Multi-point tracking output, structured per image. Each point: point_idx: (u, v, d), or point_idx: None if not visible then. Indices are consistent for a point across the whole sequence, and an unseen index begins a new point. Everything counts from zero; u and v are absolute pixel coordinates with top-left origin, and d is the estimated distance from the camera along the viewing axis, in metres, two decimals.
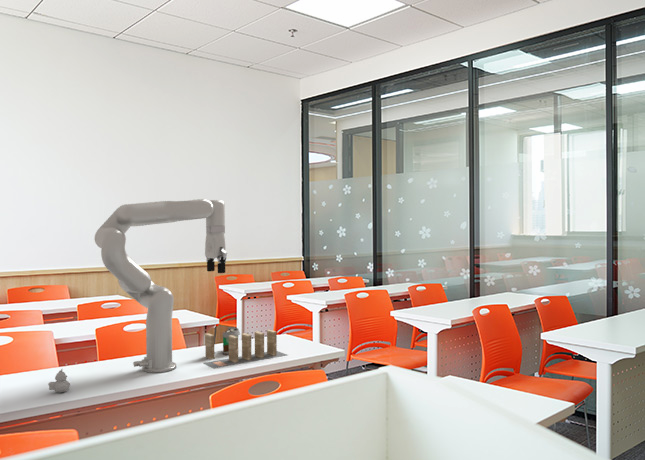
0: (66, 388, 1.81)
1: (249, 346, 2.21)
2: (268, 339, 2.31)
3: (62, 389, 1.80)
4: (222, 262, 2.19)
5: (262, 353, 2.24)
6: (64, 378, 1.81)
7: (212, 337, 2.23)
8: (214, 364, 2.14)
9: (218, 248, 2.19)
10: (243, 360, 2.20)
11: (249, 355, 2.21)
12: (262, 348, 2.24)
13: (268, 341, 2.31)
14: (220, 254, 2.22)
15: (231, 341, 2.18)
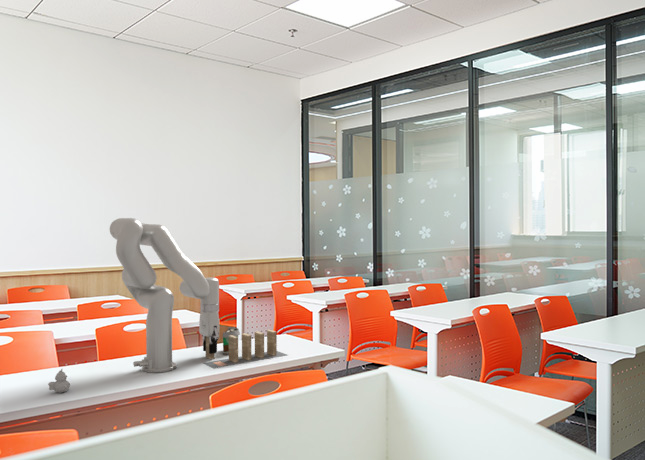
0: (66, 388, 1.81)
1: (249, 346, 2.21)
2: (268, 339, 2.31)
3: (62, 389, 1.80)
4: (214, 343, 2.21)
5: (262, 353, 2.24)
6: (64, 378, 1.81)
7: None
8: (214, 364, 2.14)
9: (212, 327, 2.20)
10: (243, 360, 2.20)
11: (249, 355, 2.21)
12: (262, 348, 2.24)
13: (268, 341, 2.31)
14: None
15: (231, 341, 2.18)
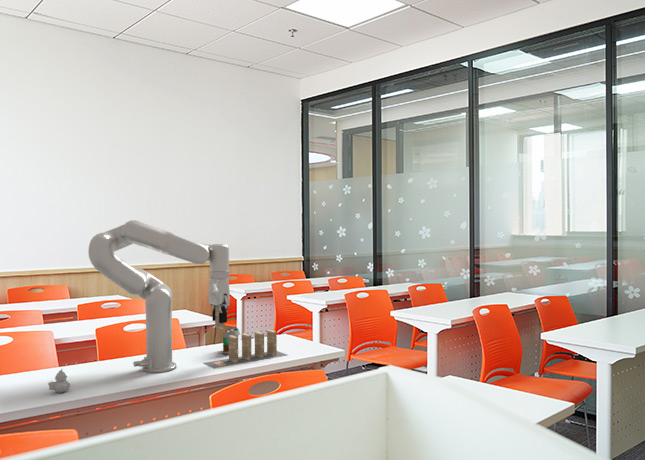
0: (66, 388, 1.81)
1: (249, 346, 2.21)
2: (268, 339, 2.31)
3: (62, 389, 1.80)
4: (224, 312, 2.12)
5: (262, 353, 2.24)
6: (64, 378, 1.81)
7: (222, 306, 2.13)
8: (214, 364, 2.14)
9: (222, 295, 2.10)
10: (243, 360, 2.20)
11: (249, 355, 2.21)
12: (262, 348, 2.24)
13: (268, 341, 2.31)
14: None
15: (231, 341, 2.18)
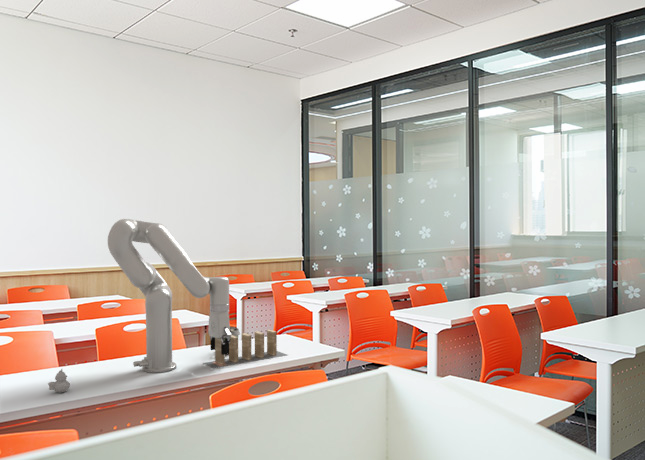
0: (66, 388, 1.81)
1: (249, 346, 2.21)
2: (268, 339, 2.31)
3: (62, 389, 1.80)
4: (226, 343, 2.11)
5: (262, 353, 2.24)
6: (64, 378, 1.81)
7: None
8: (214, 364, 2.14)
9: (222, 328, 2.11)
10: (243, 360, 2.20)
11: (249, 355, 2.21)
12: (262, 348, 2.24)
13: (268, 341, 2.31)
14: (224, 334, 2.13)
15: (231, 341, 2.18)
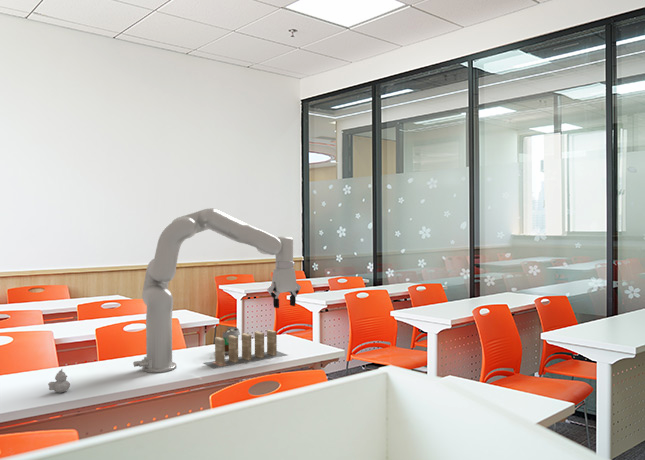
0: (66, 388, 1.81)
1: (249, 346, 2.21)
2: (268, 339, 2.31)
3: (62, 389, 1.80)
4: (273, 297, 2.30)
5: (262, 353, 2.24)
6: (64, 378, 1.81)
7: (222, 341, 2.14)
8: (214, 364, 2.14)
9: (272, 282, 2.31)
10: (243, 360, 2.20)
11: (249, 355, 2.21)
12: (262, 348, 2.24)
13: (268, 341, 2.31)
14: None
15: (231, 341, 2.18)
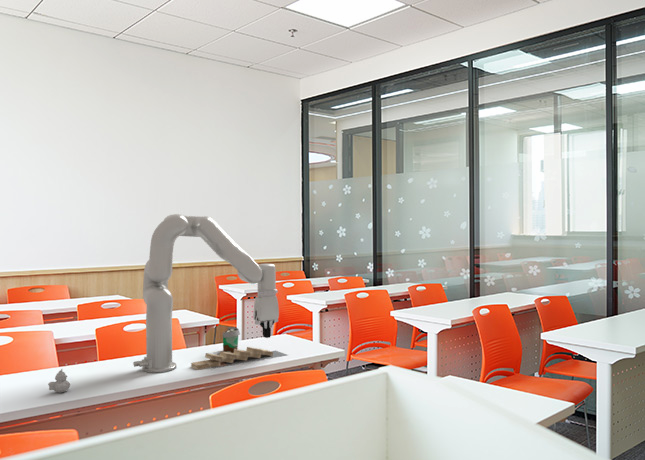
0: (66, 388, 1.81)
1: (235, 357, 2.17)
2: None
3: (62, 389, 1.80)
4: (262, 327, 2.27)
5: (257, 355, 2.23)
6: (64, 378, 1.81)
7: (198, 367, 2.08)
8: None
9: (254, 311, 2.26)
10: (243, 360, 2.20)
11: (243, 358, 2.19)
12: (252, 355, 2.22)
13: None
14: None
15: None
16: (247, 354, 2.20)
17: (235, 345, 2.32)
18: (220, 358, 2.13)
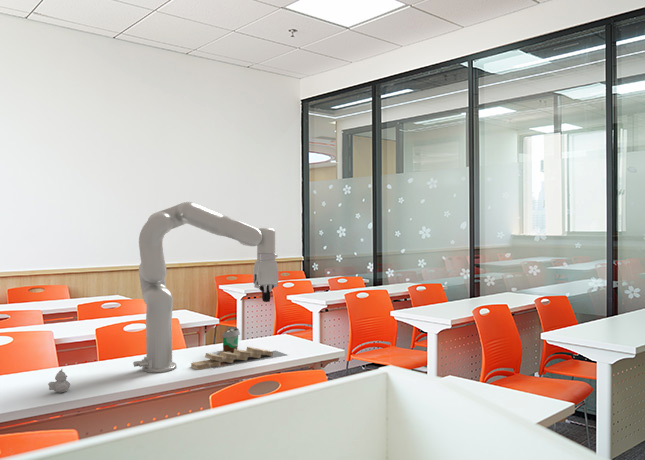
0: (66, 388, 1.81)
1: (235, 357, 2.17)
2: None
3: (62, 389, 1.80)
4: (262, 291, 2.27)
5: (257, 355, 2.23)
6: (64, 378, 1.81)
7: (198, 367, 2.08)
8: None
9: (254, 275, 2.26)
10: (243, 360, 2.20)
11: (243, 358, 2.19)
12: (252, 355, 2.22)
13: None
14: None
15: None
16: (247, 354, 2.20)
17: (235, 345, 2.32)
18: (220, 358, 2.13)
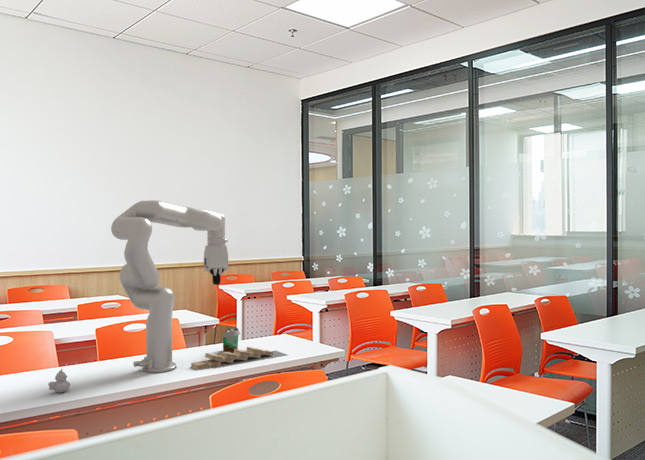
0: (66, 388, 1.81)
1: (235, 357, 2.17)
2: None
3: (62, 389, 1.80)
4: (212, 274, 2.36)
5: (257, 355, 2.23)
6: (64, 378, 1.81)
7: (198, 367, 2.08)
8: None
9: (204, 258, 2.35)
10: (243, 360, 2.20)
11: (243, 358, 2.19)
12: (252, 355, 2.22)
13: None
14: None
15: None
16: (247, 354, 2.20)
17: (235, 345, 2.32)
18: (220, 358, 2.13)
